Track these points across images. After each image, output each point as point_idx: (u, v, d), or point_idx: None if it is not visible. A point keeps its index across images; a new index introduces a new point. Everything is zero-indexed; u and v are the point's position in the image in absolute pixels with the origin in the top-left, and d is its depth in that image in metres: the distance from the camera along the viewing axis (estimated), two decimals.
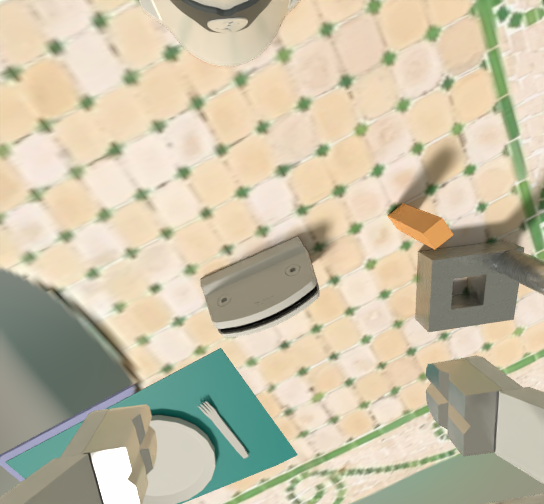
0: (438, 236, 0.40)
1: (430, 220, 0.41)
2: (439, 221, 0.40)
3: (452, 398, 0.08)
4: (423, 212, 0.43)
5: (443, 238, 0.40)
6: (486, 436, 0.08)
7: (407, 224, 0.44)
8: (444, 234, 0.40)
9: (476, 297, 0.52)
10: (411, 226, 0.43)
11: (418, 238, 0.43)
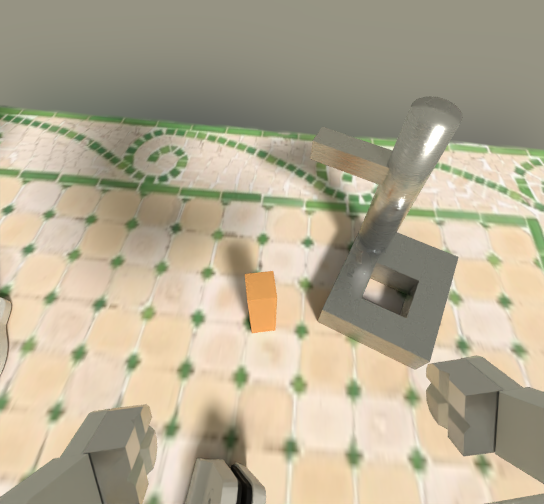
0: (263, 287, 0.32)
1: None
2: (246, 278, 0.32)
3: (452, 398, 0.09)
4: None
5: (270, 282, 0.32)
6: (486, 436, 0.08)
7: (249, 314, 0.35)
8: (265, 279, 0.32)
9: (409, 284, 0.40)
10: None
11: (269, 310, 0.34)
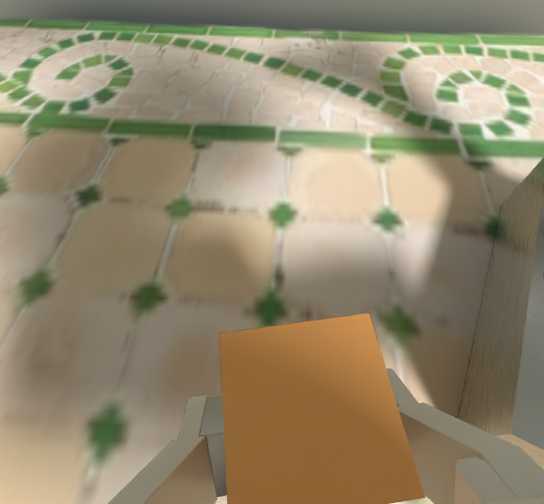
0: (326, 415, 0.05)
1: None
2: (228, 358, 0.06)
3: None
4: None
5: (365, 386, 0.06)
6: None
7: None
8: (334, 365, 0.06)
9: None
10: None
11: None
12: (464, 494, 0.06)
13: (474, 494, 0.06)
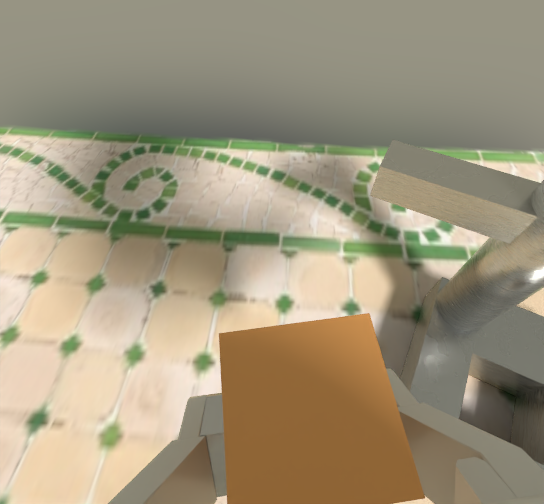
0: (327, 416, 0.05)
1: None
2: (228, 358, 0.06)
3: None
4: None
5: (365, 386, 0.06)
6: None
7: None
8: (335, 366, 0.06)
9: (527, 387, 0.25)
10: None
11: None
12: (464, 494, 0.06)
13: (474, 494, 0.06)
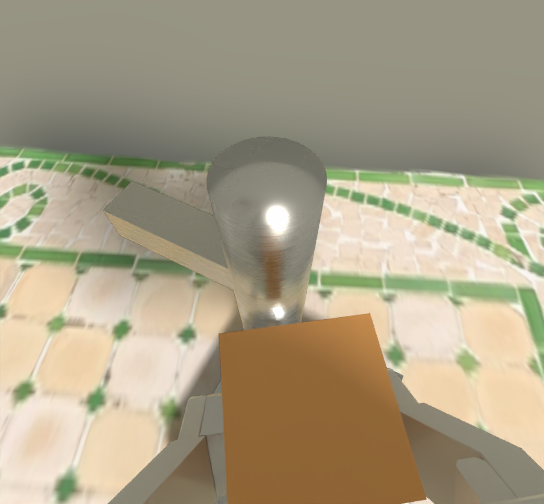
0: (326, 417, 0.05)
1: None
2: (228, 358, 0.06)
3: None
4: None
5: (366, 387, 0.05)
6: None
7: None
8: (335, 366, 0.06)
9: None
10: None
11: None
12: (464, 494, 0.06)
13: (474, 494, 0.06)
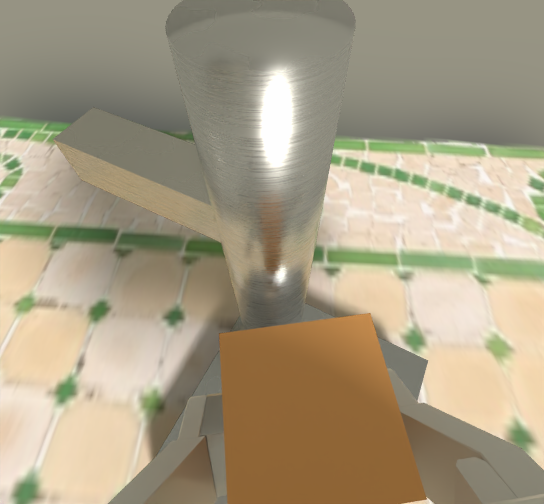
0: (326, 416, 0.05)
1: None
2: (227, 358, 0.06)
3: None
4: None
5: (366, 387, 0.05)
6: None
7: None
8: (335, 366, 0.06)
9: None
10: None
11: None
12: (464, 494, 0.06)
13: (474, 494, 0.06)
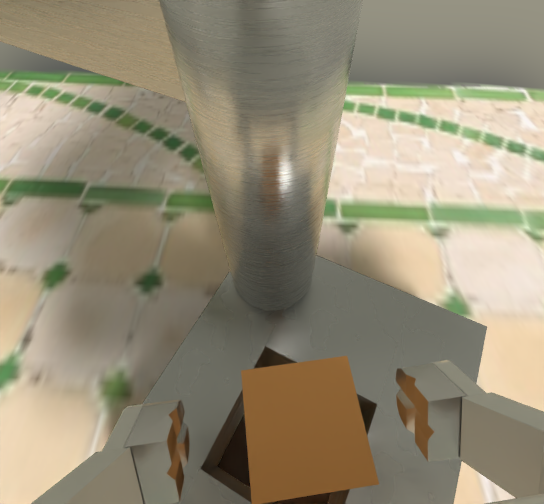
0: (316, 430, 0.08)
1: None
2: (247, 388, 0.08)
3: (417, 403, 0.08)
4: None
5: (342, 409, 0.08)
6: (450, 442, 0.08)
7: None
8: (322, 394, 0.08)
9: None
10: None
11: None
12: None
13: None
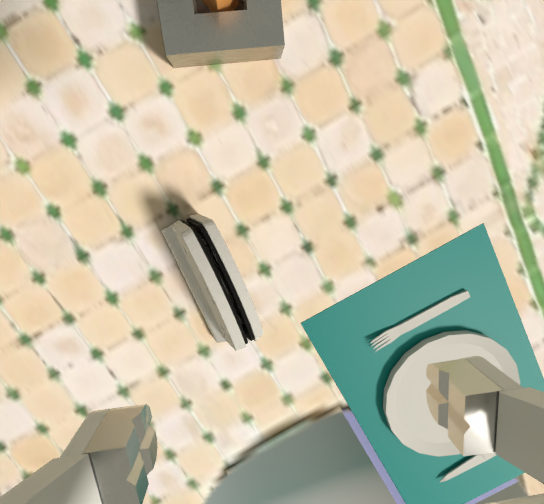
0: None
1: None
2: None
3: (452, 398, 0.08)
4: None
5: None
6: (486, 436, 0.08)
7: None
8: None
9: None
10: None
11: None
12: None
13: None
